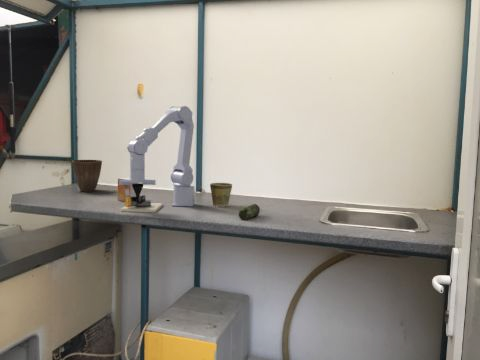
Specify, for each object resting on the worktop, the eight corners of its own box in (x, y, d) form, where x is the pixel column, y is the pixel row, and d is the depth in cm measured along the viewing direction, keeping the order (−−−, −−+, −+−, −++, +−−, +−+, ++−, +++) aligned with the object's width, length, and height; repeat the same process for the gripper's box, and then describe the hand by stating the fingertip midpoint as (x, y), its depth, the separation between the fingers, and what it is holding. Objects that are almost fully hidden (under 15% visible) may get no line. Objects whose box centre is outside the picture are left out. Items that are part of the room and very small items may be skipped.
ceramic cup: (228, 208, 180) (229, 186, 178) (207, 206, 181) (207, 184, 180) (235, 203, 192) (235, 182, 191) (214, 202, 194) (215, 181, 193)
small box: (117, 200, 189) (117, 178, 188) (125, 199, 194) (125, 177, 193) (130, 202, 186) (130, 179, 184) (138, 201, 190) (138, 178, 189)
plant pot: (91, 193, 207) (91, 162, 205) (66, 191, 210) (65, 160, 208) (107, 189, 221) (107, 160, 219) (83, 188, 225) (83, 159, 223)
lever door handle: (144, 203, 178) (144, 193, 177) (154, 205, 173) (154, 195, 173) (121, 206, 169) (121, 196, 168) (132, 209, 164) (132, 198, 164)
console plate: (162, 205, 181) (162, 202, 181) (154, 212, 165) (154, 209, 165) (131, 204, 181) (131, 201, 181) (120, 211, 165) (120, 208, 165)
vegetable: (248, 221, 155) (248, 208, 154) (236, 220, 157) (236, 207, 157) (262, 215, 167) (263, 203, 167) (251, 214, 170) (251, 202, 169)
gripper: (155, 168, 172) (155, 200, 174) (119, 168, 169) (120, 200, 170) (155, 170, 165) (155, 203, 167) (118, 170, 162) (118, 203, 164)
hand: (137, 202), depth 168 cm, fingers closed, pressing on lever door handle
